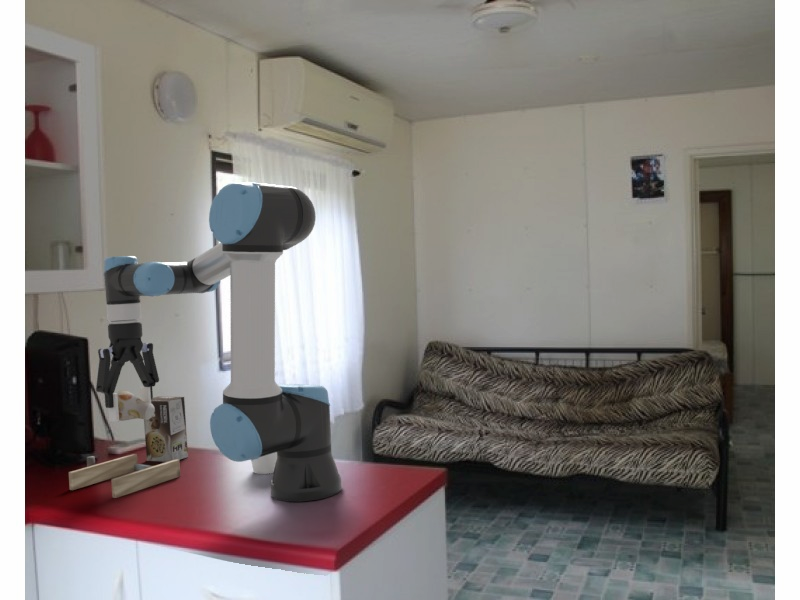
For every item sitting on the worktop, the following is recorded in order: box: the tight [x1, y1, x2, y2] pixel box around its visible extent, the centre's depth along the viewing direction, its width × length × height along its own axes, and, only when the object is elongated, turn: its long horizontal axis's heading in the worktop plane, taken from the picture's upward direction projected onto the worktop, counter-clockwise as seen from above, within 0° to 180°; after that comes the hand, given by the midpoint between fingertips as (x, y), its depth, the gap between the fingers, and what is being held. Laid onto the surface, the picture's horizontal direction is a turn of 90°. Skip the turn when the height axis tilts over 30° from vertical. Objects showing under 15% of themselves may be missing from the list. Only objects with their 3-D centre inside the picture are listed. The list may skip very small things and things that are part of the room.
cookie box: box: [143, 396, 189, 463], centre depth 192 cm, size 9×6×16 cm
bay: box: [68, 453, 181, 499], centre depth 171 cm, size 16×18×4 cm
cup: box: [250, 452, 277, 475], centre depth 176 cm, size 9×9×12 cm
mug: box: [115, 390, 155, 422], centre depth 173 cm, size 8×10×10 cm
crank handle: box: [86, 455, 96, 467], centre depth 180 cm, size 10×2×5 cm, turn 149°
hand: (130, 417), depth 172 cm, fingers closed on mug, 9 cm apart
